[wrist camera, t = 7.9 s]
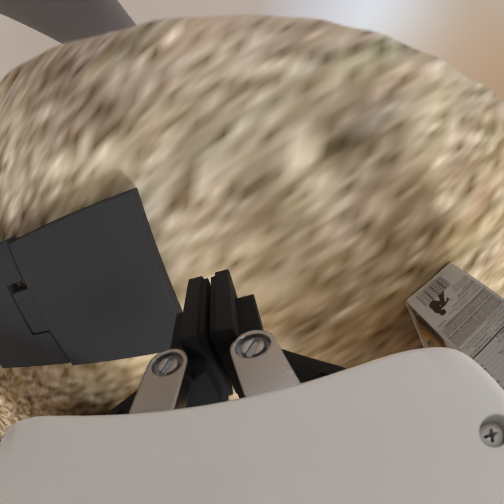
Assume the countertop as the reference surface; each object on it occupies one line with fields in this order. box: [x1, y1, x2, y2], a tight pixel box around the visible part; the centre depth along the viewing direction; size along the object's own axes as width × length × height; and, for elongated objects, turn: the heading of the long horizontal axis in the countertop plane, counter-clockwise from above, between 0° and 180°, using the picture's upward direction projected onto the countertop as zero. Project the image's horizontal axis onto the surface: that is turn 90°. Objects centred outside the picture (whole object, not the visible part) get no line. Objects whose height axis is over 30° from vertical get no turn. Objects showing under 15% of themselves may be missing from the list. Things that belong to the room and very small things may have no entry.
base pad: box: [0, 236, 70, 368], centre depth 19 cm, size 12×12×2 cm
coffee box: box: [405, 263, 504, 390], centre depth 16 cm, size 9×6×16 cm
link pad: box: [9, 188, 183, 365], centre depth 19 cm, size 12×14×2 cm
